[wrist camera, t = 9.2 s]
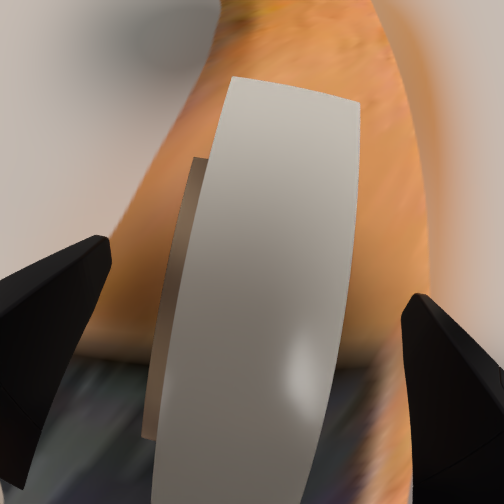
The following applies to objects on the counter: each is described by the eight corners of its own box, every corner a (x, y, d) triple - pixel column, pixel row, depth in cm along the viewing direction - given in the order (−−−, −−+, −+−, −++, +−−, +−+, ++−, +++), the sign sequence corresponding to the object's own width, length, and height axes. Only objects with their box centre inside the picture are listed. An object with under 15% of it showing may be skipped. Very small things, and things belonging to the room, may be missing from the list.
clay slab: (258, 425, 15) (284, 545, 5) (194, 414, 15) (149, 526, 5) (296, 211, 17) (360, 102, 7) (233, 199, 17) (232, 76, 7)
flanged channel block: (290, 443, 16) (302, 471, 12) (157, 421, 16) (140, 445, 12) (331, 201, 19) (352, 178, 15) (203, 177, 19) (196, 148, 15)
